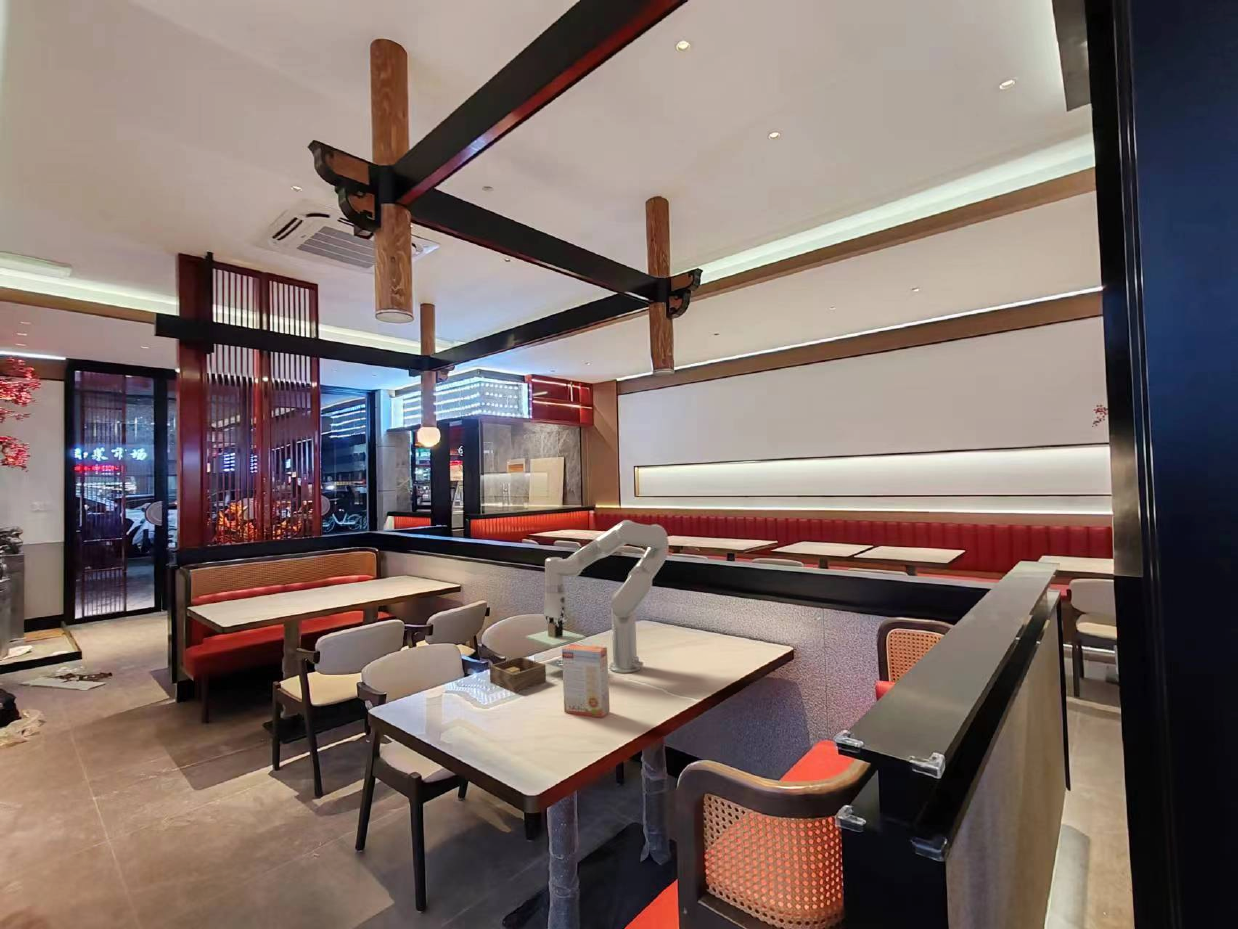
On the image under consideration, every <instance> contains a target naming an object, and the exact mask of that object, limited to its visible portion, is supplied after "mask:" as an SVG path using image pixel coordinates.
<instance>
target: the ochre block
mask: <svg viewBox="0 0 1238 929" xmlns="http://www.w3.org/2000/svg"><path fill="white" fill-rule="evenodd" d="M505 671H508V672H510V673H513V674H516V673H519V672H520V669H519V668H516V667H511V668H508V669H505Z"/></svg>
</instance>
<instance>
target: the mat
mask: <svg viewBox="0 0 1238 929" xmlns="http://www.w3.org/2000/svg"><path fill="white" fill-rule="evenodd" d="M557 662H558V663H557ZM561 662H562V663H561ZM546 664H547V665H551V666H553V667H557V668H559V669H562V670H563V665H559V664H563V661H561V660H558V659H555V660H552V661H548V662H546Z"/></svg>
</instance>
